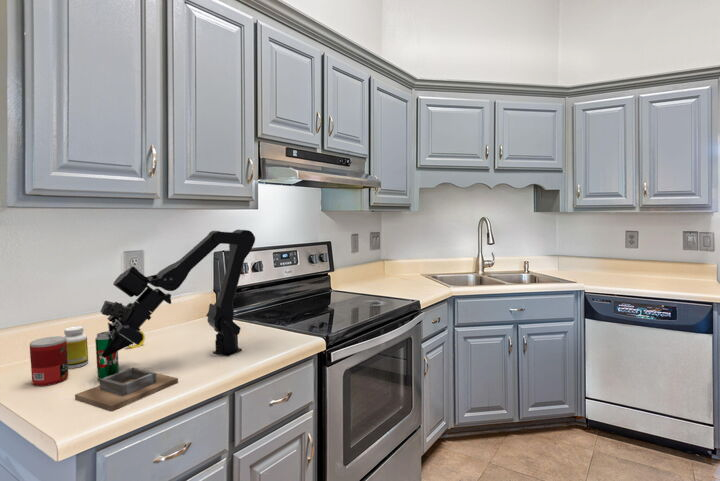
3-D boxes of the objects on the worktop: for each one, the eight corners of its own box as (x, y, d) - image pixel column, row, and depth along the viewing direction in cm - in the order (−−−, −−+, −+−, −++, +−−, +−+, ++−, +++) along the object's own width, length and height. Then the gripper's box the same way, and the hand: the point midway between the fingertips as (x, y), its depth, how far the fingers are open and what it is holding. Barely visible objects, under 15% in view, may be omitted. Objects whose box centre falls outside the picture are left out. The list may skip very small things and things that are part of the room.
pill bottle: (92, 363, 129) (90, 326, 129) (70, 370, 124) (68, 332, 123) (81, 360, 133) (79, 324, 132) (59, 366, 127) (56, 329, 126)
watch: (128, 350, 142) (126, 333, 141) (124, 349, 144) (122, 331, 143) (146, 344, 147) (144, 327, 146) (142, 343, 149) (140, 326, 148)
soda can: (114, 372, 122) (112, 329, 121) (122, 376, 119) (120, 332, 118) (94, 377, 118) (92, 333, 117) (102, 382, 115) (99, 337, 114)
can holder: (142, 373, 121) (142, 360, 121) (178, 382, 115) (177, 368, 114) (75, 399, 105) (74, 384, 105) (112, 411, 99) (111, 395, 98)
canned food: (69, 381, 116) (66, 341, 115) (31, 389, 111) (28, 346, 110) (68, 373, 122) (65, 334, 121) (32, 379, 118) (29, 339, 117)
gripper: (114, 285, 126) (71, 329, 120) (126, 294, 112) (78, 346, 106) (145, 307, 132) (105, 351, 126) (161, 319, 117) (117, 370, 111)
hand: (101, 354), depth 117 cm, fingers closed on soda can, 5 cm apart
